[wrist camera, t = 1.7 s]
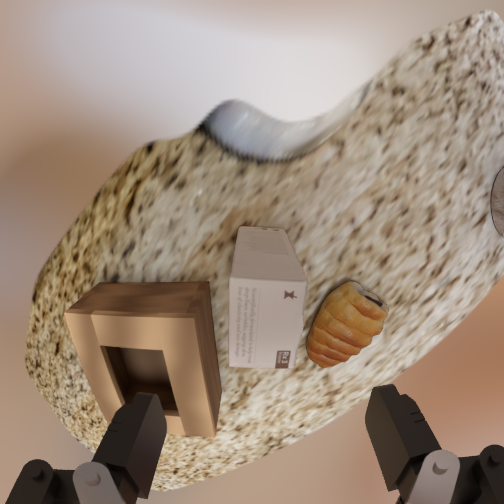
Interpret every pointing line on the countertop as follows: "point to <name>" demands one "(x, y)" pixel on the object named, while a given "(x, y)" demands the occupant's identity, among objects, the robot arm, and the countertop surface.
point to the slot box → (151, 350)
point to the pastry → (345, 324)
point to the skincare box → (265, 300)
